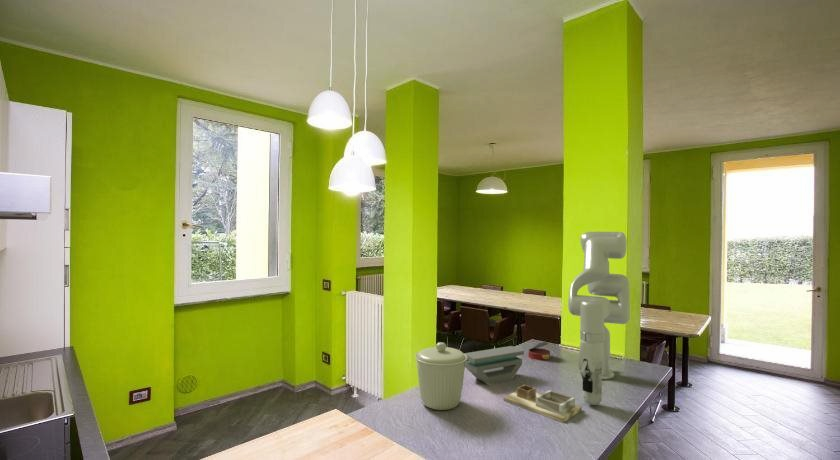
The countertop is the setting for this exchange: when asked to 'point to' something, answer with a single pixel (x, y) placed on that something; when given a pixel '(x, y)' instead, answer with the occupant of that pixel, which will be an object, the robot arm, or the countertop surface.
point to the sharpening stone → (494, 364)
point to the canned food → (539, 352)
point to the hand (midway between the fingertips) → (592, 388)
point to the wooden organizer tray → (544, 403)
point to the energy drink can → (595, 387)
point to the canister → (440, 376)
